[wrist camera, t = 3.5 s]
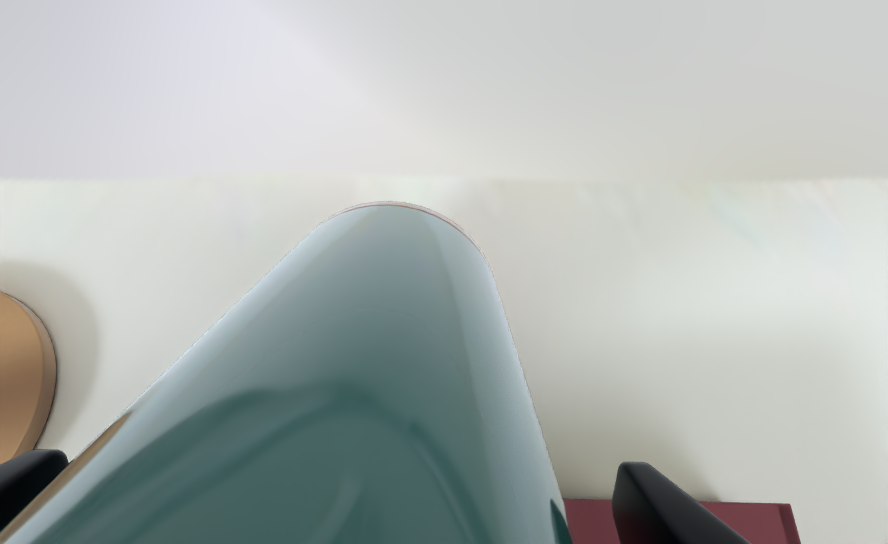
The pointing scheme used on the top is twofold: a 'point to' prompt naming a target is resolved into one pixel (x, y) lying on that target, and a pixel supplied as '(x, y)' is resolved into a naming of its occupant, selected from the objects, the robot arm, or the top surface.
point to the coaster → (23, 378)
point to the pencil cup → (329, 411)
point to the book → (753, 521)
